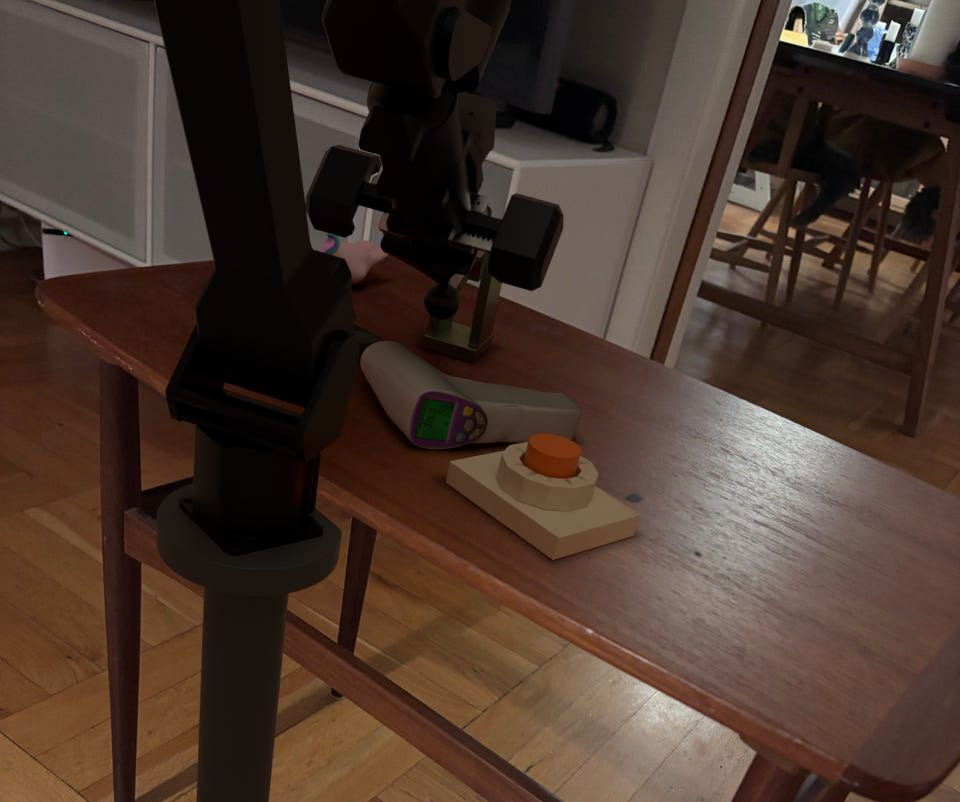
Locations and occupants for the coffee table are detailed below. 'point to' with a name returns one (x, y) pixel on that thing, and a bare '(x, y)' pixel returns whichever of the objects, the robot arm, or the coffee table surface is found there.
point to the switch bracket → (463, 338)
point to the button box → (543, 502)
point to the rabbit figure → (354, 255)
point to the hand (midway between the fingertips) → (445, 279)
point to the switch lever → (451, 291)
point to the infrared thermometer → (459, 403)
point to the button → (552, 456)
